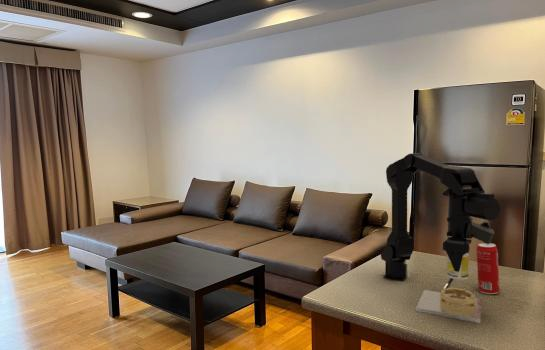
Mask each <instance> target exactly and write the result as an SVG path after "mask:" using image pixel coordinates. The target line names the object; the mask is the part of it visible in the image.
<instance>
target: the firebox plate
mask: <svg viewBox="0 0 545 350" xmlns="http://www.w3.org/2000/svg"><path fill="white" fill-rule="evenodd" d="M482 309H483V299H482V298H476V294H475V293H474V292H472V291H470V290H467V289H464V288H457V287H448V288H446V289H443V288H442V289H441V291H435V290H434V291H433V290H429V289H428V290H427V289H424V290H423V292H422V294H421V296H420V298H419V300H418V302H417V305H416V306H415V311H416V312H420V313H425V314H430V315H436V316H440V317H446V318H450V319H456V320H461V321H466V322H470V323H478V324H481V322H482V311H483V310H482Z"/></svg>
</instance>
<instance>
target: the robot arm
mask: <svg viewBox="0 0 545 350" xmlns="http://www.w3.org/2000/svg"><path fill="white" fill-rule="evenodd" d="M418 171H421V172H423V173H425V174H428V175H430V176H433V177H435V178H437V179H438V180H439V182H440V183H441V184H442V185H443V186H445V187H446V188H447V189H446V190H445V191H443V192H442V194H441V195H442V196H445V197H448V198H447V199H448V201H447V205H448V208H447V217H446V222H447V231H446V238H445V239H444V240H443V241H442V250H443V251H445V252H446V254H447V255H446V256H447V258H448V257H449V259H450V261H451V264H452V266H453V268H454V270H455V271H456V272H459V270H460V266H461V262H462V258H463V255H464V254H466V253H469V254H470V250H471V249H470V246H471V243H472V241H473V238H474V239H477V240H479V241H482V243H486V244H489V243H491V241H492V239H493V237H494V235H495V230H494V229H493V228H491V227H490V222H491V221H495V220H496V219H497V218H498V217H499V215H500V212H501V205H500V203H499V201H498V200H497V199H496V198H495V193H491V192H489V193H488V192H487V193H486V192H485V190H484V187H483V186H482V184H481V182H480V181H479V179H478V178H477V175H476V172H475V170H474V169H472V168H471V167H464V166H458V165H457V166H456V165H449V164H445V163H443V162H441V161H438V160H436V159H434V158H431V157H428V156H426V155H424V154H423V153H421V152H417V153H416V152H414V153H408V154H407V155H405V156H404V157H402V158H400V159H398V160H396V161H394V162H392V163H390V164H389V165H388V166H387V167H386V170H385V175H386V183H387V184H388V185H389V188H390V189H391V232H390V233H389V235H388V237H387V239H386V246H385V248H384V249H383V250H382V251H381V252H380V258H381V259H380V260H382V261H384V262H385V264H384V265H385V269H384V270H385V274H384V276H383V278H384V279H389V280H394V281H400V282H404V281H405V279H406V278H407V276H408V264H407V261H410V260H411V256H412V255H413V252H414V250H415V247H414V243H415V239H414V238H413V237H411V236H410V234H409V233H408V190H409V188H410V186H411V185H412V183H413V177H414V175H415V174H416V173H417V172H418ZM473 218H476V219H481V220H484V221H483V222H481V223H479V222H477V223H476V222H473ZM485 220H486V221H485ZM489 221H490V222H489Z"/></svg>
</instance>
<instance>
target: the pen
mask: <svg viewBox="0 0 545 350" xmlns="http://www.w3.org/2000/svg"><path fill="white" fill-rule="evenodd" d="M449 278H450V277H449ZM453 280H454V279H453V278H450V279H449V280H448V281H447V283H446V284H445V285H444V287H443V288H442V289H446V288H450V285H451V283H452V282H453Z"/></svg>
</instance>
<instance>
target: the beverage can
mask: <svg viewBox="0 0 545 350" xmlns="http://www.w3.org/2000/svg"><path fill="white" fill-rule="evenodd" d="M476 264H477V265H476V266H477V283H478V285H477V287H478V290H479V292H480V293H482V294H484V295H485V294H486V295H497V294H499V292H500V274H499V270H500V269H499V250H498V247H497V244H496V243H492V242H490V243H489V244H486V243H484V242H480V243H477V246H476Z"/></svg>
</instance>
